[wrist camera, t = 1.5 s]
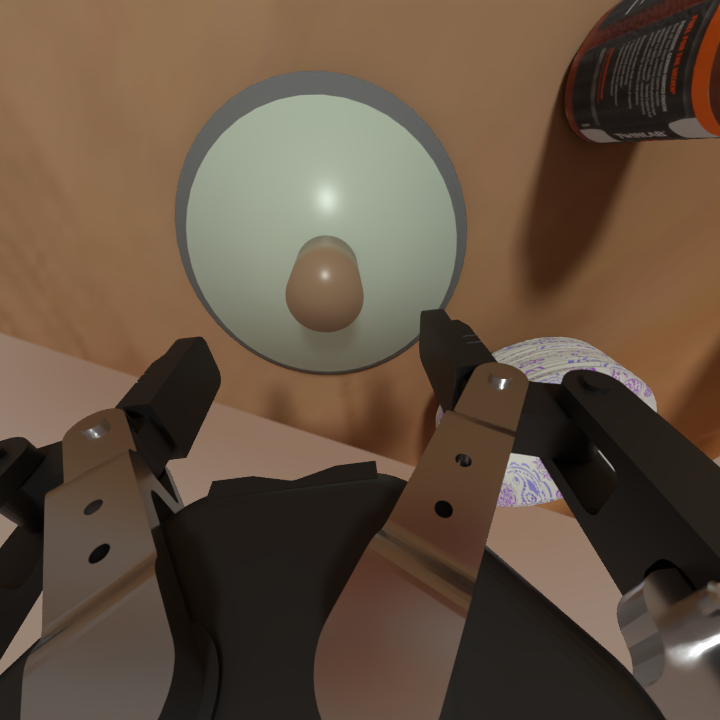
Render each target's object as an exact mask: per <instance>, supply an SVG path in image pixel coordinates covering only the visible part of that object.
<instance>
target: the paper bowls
mask: <svg viewBox="0 0 720 720" xmlns="http://www.w3.org/2000/svg"><path fill="white" fill-rule="evenodd" d="M492 355H493V357H494V358H495V359H496V360H497V362H498V363H504V364H508V365H511V366H514V367H516V368H518V369H519V370H521V371H522V372H523V373H524V374H525V375H526V376H527V378H528V381H534V382H543V383H554V384H561V381H562V379H563V376H564V375H565V374H566V373H567V372H569V371H572V370H577V369H586V370H593V371H598V372H601V373H604V374H607V375H610V376H612V377H614V378H615V379H617V380H619V381H620V382H621V383H623V384H624V385H625V386H626V387H627V388H629V389H630V390H631V391H632V392H633V393H634V394H636V395H637V396H638V397H639V398H640V399H641V400H643V401H644V402H645V403H646V404H647V405H648V406H649V407H651V408H652V409H653V410H654V411H655V412H656V413H657V408H656V401H655V398H654V395H653V394H652V391H651V389H650V388H649V387H648V386H647V385H646V384H645V383H644V382H643V381H642V380H641V379H639V378H638V377H636V376H635V375H634V374H633V373H632V372H630V371H628V370H626V369H625V368H624V367H622V366H621V365H620V364H618V363H617V362H615V361H614V360H612V359H611V358H610V357H609V356H607V355H606V354H604V353H603V352H601V351H600V350H598V349H596V348H594V347H593V346H591V345H590V344H588V343H586V342H583V341H580V340H577V339H573V338H567V337H544V338H536V339H532V340H526V341H525V342H520V343H517V344H514V345H511V346H508V347H505V348H502V349H500V350H498V351H496V352H494V353H492ZM443 416H444V413H443V411H442V408H441V406H440V405H439V408H438V411H437V414H436V429H437V427H438V425H439V423H440V421H441V419H442V418H443ZM598 452H599V453H600V454H601V455H602V457H603V458H604V459H605V460H606V461H607V463H608V464H609V465H610V466H611V468H612V469H613V467H612V465H611V464H610V463H609V461H608V460H607V459H606V458H605V457H604V455H603V454H602V453H601V452H600V450H599V451H598ZM613 470H614V469H613ZM561 498H563V496H562V495H561V493H560V491H559V490H558V488H557V486H556V485H555V483H554V481H553V480H552V478H551V477H550V475H549V473H548V472H547V470H546V468H545V467H544V465H543V463H542V462H541V460H540V458H539V457H534V456H527V455H521V454H514V453H511V454H510V457H509V461H508V465H507V468H506V472H505V476H504V479H503V483H502V487H501V490H500V494H499V498H498V501H497V505H496V506H502V507H507V506H508V507H518V506H530V505H537V504H542V503H547V502H551V501H555V500H558V499H561Z"/></svg>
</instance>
